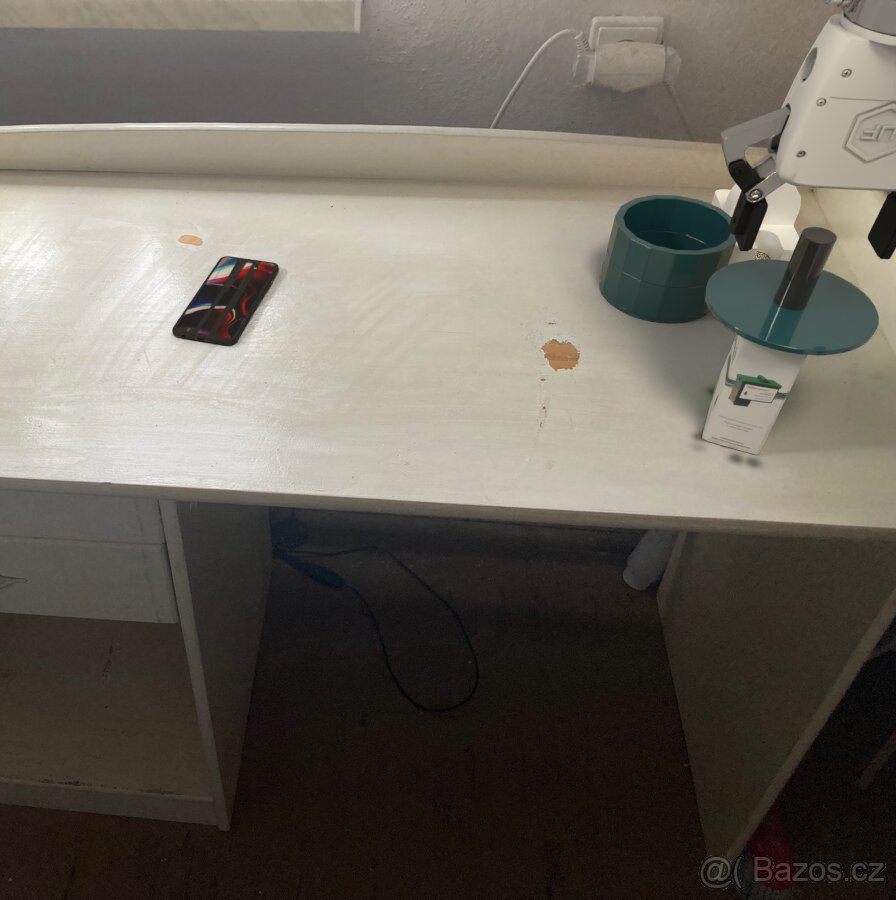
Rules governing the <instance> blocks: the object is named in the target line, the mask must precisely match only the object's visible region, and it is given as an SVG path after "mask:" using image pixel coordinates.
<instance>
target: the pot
mask: <svg viewBox="0 0 896 900" xmlns="http://www.w3.org/2000/svg"><path fill="white" fill-rule="evenodd" d="M711 204H712V203H709V202H706V201H704V200H701V199H697V198H693V197H687V196H682V195H674V194H673V195H672V194H671V195H670V194H651V195H647V196H640V197H635V198H632V199H631V200H630V201H628V202H625V203H624V204H622V205H620V207H618V210H617V212H616V214H615V215H614V219H613V222H612V228H611V231H610V234H609V240H608V244H607V246H606V251H605V256H604V260H603V264H602V268H601V273H600V276H599V289H600V292H601V294H602V296H603V297H604V298H605V300H606V301H607V302H608V303H609V304H610V305H611V306H613V308H615V309H617V310H619V312H622V313H624V314H626V315H628V316H631V317H634V318H636V319H640V320H644V321H647V322H654V323H663V324H676V323H685V322H691V321H694V320H697V319H700V318H702V317H703V316H705V315H707V314H708V313H709V312H710V310H709V308H708V306H707V304H706V301H705V288H706V285H707V282H708V280H709V279H710V277H711V276H712V275H713V274H714V273H715V272H716V271H718V270H719V269H721V268H723V267H725V266H727V265H728V264H729V261H730V258H731V256H732V253H733V250H734V247H735V245H736V242H737V241H736V238H735V236H734V234H731V232H730V221H731V218H732V217H731V216H730V215H729V214H727V213H726V212H725V211H723V210H722V209H720V208H719V207H716V206H714V205H711Z"/></svg>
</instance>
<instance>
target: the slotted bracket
mask: <svg viewBox="0 0 896 900" xmlns="http://www.w3.org/2000/svg"><path fill="white" fill-rule="evenodd" d="M740 193H741V189H740V188H739V187H738V185H737V184H736V183H735V184H734V185H733V186H732V188H731V189H725V188H723V189H716V190H715V192H714V194H713V197H712V201H711V203H710V204H711V205H714V206H716V207H719V208H720V209H722V210H723V211H725V212H726V213H727V214H729V215H730V216H731V217H732V215H733V213H734V210H735V207H736V204H737V201H738V199H739V196H740ZM765 199H766V201H767V203H768V209H767V211H766V214H765V217H764V219H763V222H762V224H761V227H760V229H759V232H758V234H757V237H756V240H755V242H754V245H753V247H752V249H751V250H749V251H740V249H739V247H738V244H737V242H736V245H735V247H734V250H733V253H732V256H731V258H730V261H729V264H728V265H730V264H733V263H736V262H740V261H746V260H755V258H756V254H757V252H758V253H762V254H765V255H767V256H768V257H769V259H773V260H784V261H790V259H791V256H792V254H793V252H794V249H795V247H796V244H797V242H798V240H799V237H800V235H799V234H798V233H797V230H796V228H795V226H794V225H795V223H796V220H797V218H798V216H799V213H800V210H801V207H802V206H801V205H802V197H801V194H800V191H799V190H798V188H797V186H794V185H790V184H788V183H785V184H783V185H782V186H780V187H779V188H777V189H776V190H775V191H773V192H772V193H770V194H769V195H767V196H766V197H765Z"/></svg>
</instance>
